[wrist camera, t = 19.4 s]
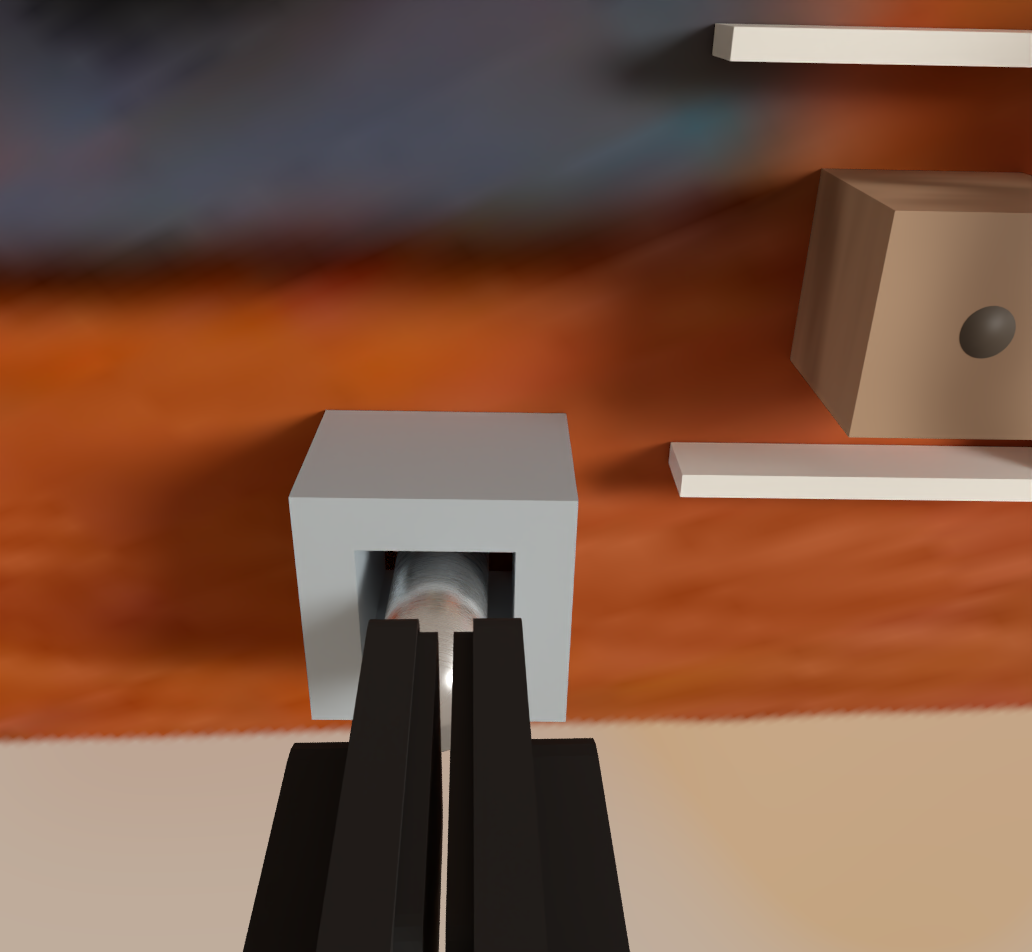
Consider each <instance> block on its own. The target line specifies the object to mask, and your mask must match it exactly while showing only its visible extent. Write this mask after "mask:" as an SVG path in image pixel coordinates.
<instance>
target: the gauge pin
mask: <svg viewBox="0 0 1032 952" xmlns="http://www.w3.org/2000/svg"><path fill="white" fill-rule="evenodd" d="M488 575H489V552H444V551H398V552H397V557H396V562H395V567H394V572H393V578H392V583H391V588H390V593H389V598H388V604H387V609H386V614H385V619H419V624H420V632H438V639H439V678H440V719H441V752H444V751H447V750H450V745H451V708H452V670H453V634H454V632H473V618H487V610H488Z"/></svg>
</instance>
